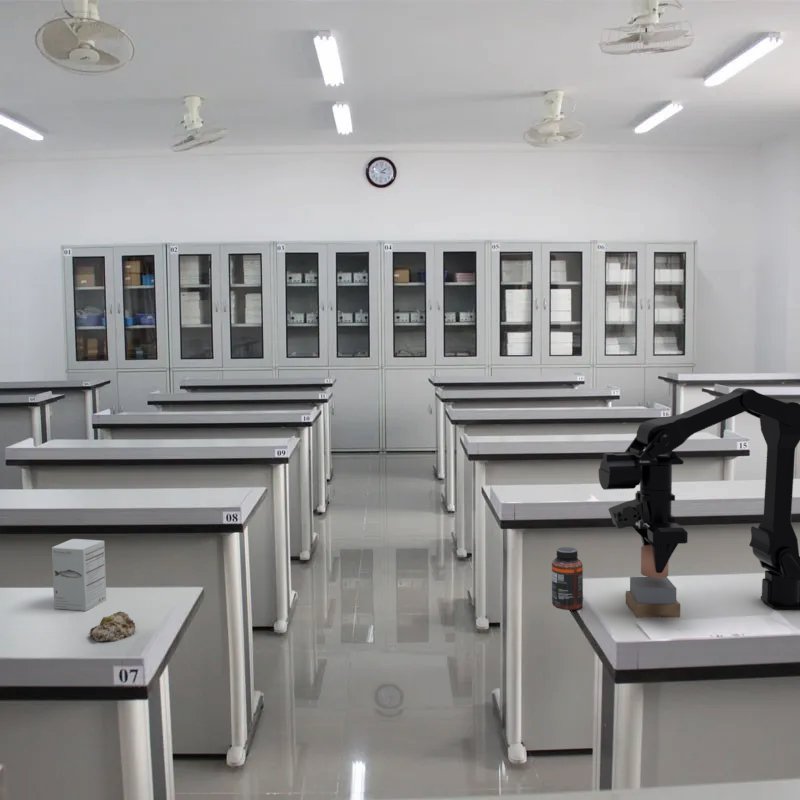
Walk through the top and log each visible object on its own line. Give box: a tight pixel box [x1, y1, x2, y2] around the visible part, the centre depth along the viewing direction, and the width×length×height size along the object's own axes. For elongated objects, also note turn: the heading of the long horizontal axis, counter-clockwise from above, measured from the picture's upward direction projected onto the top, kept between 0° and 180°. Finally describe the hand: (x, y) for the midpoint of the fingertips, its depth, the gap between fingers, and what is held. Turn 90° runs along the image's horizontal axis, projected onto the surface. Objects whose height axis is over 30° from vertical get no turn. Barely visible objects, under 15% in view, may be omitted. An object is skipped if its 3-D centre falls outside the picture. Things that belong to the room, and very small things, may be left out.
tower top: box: [629, 576, 677, 604], centre depth 153 cm, size 7×7×3 cm
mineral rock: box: [89, 611, 136, 642], centre depth 146 cm, size 11×4×8 cm
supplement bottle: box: [551, 546, 584, 611], centre depth 156 cm, size 6×6×11 cm
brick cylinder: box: [640, 545, 669, 578], centre depth 152 cm, size 5×5×5 cm
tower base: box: [625, 590, 681, 619], centre depth 154 cm, size 8×8×3 cm
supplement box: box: [51, 538, 107, 612], centre depth 161 cm, size 7×7×13 cm
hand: (654, 568), depth 153 cm, fingers closed on brick cylinder, 5 cm apart
